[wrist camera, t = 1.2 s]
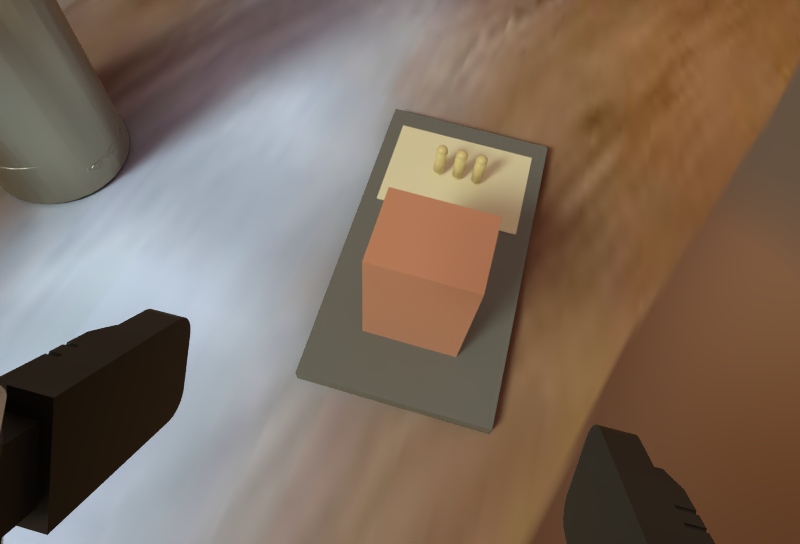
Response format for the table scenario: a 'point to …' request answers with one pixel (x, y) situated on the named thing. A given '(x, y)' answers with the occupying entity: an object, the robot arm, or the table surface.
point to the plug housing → (426, 270)
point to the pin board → (492, 325)
